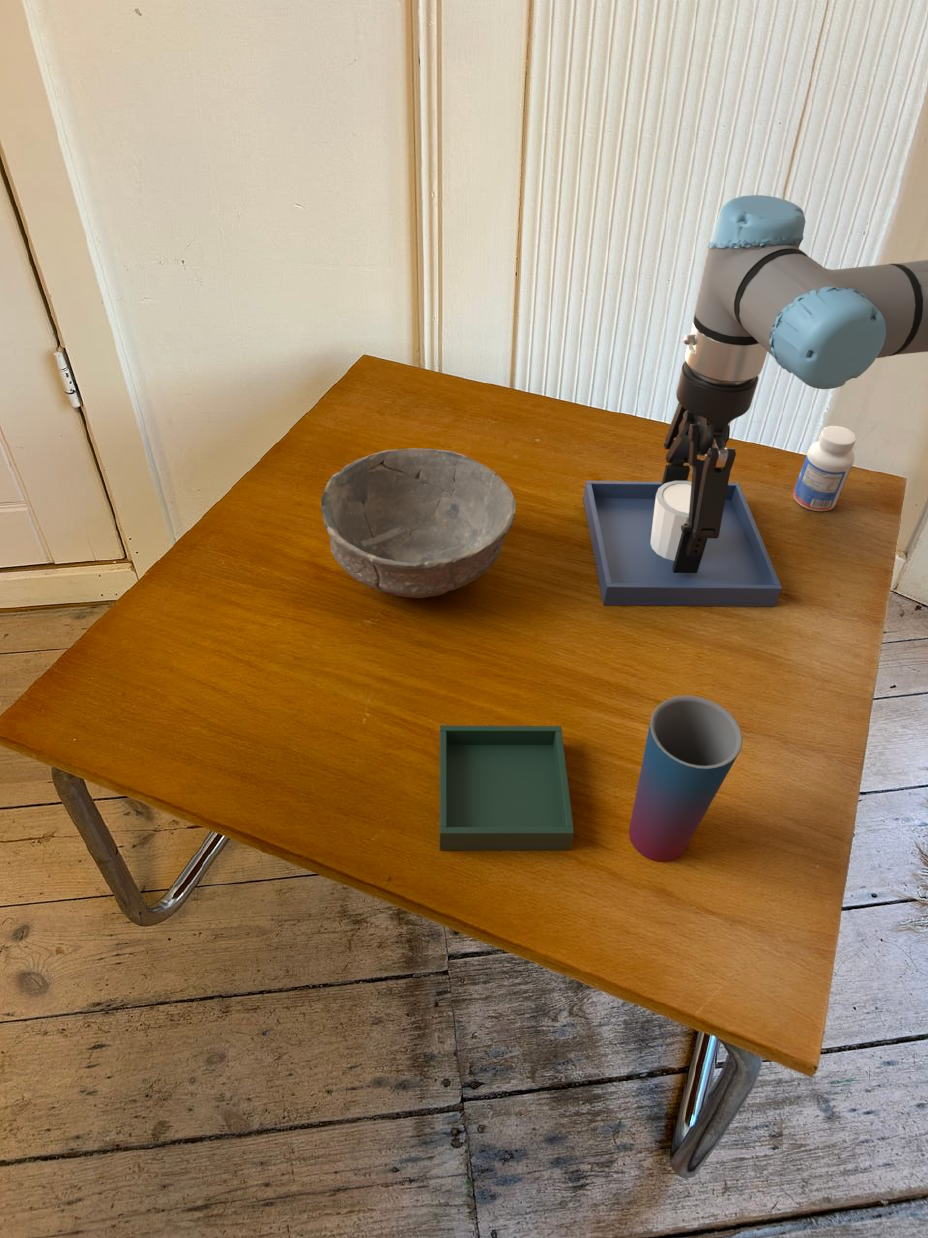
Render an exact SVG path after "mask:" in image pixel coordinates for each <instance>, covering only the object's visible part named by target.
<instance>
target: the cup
mask: <svg viewBox="0 0 928 1238" xmlns="http://www.w3.org/2000/svg"><path fill="white" fill-rule="evenodd" d="M742 747H743V734H742V729H741V727H740V725H739V723H738V721H737V720H736V718H735V717H734V716H733V714H731V713H730V712H729V711H728V710H727V709H726V708H724V707H723V706H722V705H721V704H718V703H717V702H715V701H713V700H710V699H707V698H704V697H702V696H701V697H700V696H696V695H678V696H677V695H676V696H674V697H671V698H670V697H669V698H668V699H666V700H664V701H662V702H661V703H660V704H659V705H657V706H656V708H655V709H654V710H653V712H652V714H651V716H650V721H649V726H648V732H647V736H646V741H645V746H644V751H643V756H642V761H641V767H640V770H639V771H640V772H639V777H638V782H637V785H636V786H637V787H636V792H635V797H634V802H633V807H632V812H631V817H630V821H629V822H630V823H629V829H628V836H629V839H630V843H631V844H632V846H633V847H634V849H635V850H636V851H637V852H638V853H639V854H640V855H641V856H643V857H645V858H647V859H649V860H651V861H654V862H660V863H666V862H671V861H674V860H677V859H678V858H680V857H681V856H682V855H683V854H684V852H685V850H686V849H687V847H688V845H689V844H690V842H691V840H692V838H693V837H694V835H695V833H696V831H697V829H698V828H699V826H700V824H701V822H702V820H703V819H704V817H705V815H706V813H707V811H708V810H709V808H710V806H711V805H712V803H713V801H714V799H715V797H716V795H717V793H718V791H719V790H720V788H721V786H722V785H723V783H724V781H725V779H726V777H727V775H728V774H729V772H730V770H731V768H732V766H733V765H734V763H735V761H736V759H737V758H738V756H739V754H740V753H741V750H742Z"/></svg>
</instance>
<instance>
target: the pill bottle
mask: <svg viewBox="0 0 928 1238" xmlns="http://www.w3.org/2000/svg"><path fill="white" fill-rule="evenodd" d="M856 436H857V435H856V434H855V432H853V431H852V430H850V429H848V428H847V427H844V426H840V425H828V426H825V427H823V429H822V430H821V432H820V434H819V437H818V440H817V441H815V442H813V443H812V444H811V445H810V447H809V448H808V450H807V453H806V456H805V458H804V461H803V465H802V467H801V470H800V473H799V475H798V478H797V481H796V483H795V487H794V489H793V498H794V500H795V501H796V503H797V504H798V505H799V506H801V507H803V508H804V509H806V510H810V511H813V512H814V511H815V512H827V511H830V510H832V509H834V508H835V507H836V505H837V503H838V501H839V499H840V497H841V494H842V492H843V490H844V487H845V484H846V481H847V480H848V477H849V474H850V472H851V469H852V468H853V465H854V462H855V453H854V450H853V448H854V446H855V444H856V440H857V437H856Z"/></svg>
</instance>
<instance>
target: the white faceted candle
mask: <svg viewBox="0 0 928 1238" xmlns="http://www.w3.org/2000/svg"><path fill="white" fill-rule="evenodd" d="M691 483H692V481H689V480H687V481H672V482H668V483H665V484H663V485H662V486H661V487H659V488H658V491H657V493H656V499H655V507H654V516H653V524H652V532H651V541H650V543H651V546H652V549H653V550H654V551H655V552H656V553H657V554H658V555H660V556H662V557H663V558H665V559H669V560H673V561H674V560H675V556H676V553H677V549H678V545H679V541H680V538H681V534H682V531H681V526H684V524H688V519H689V507H690V495H691Z"/></svg>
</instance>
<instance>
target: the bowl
mask: <svg viewBox="0 0 928 1238" xmlns="http://www.w3.org/2000/svg"><path fill="white" fill-rule="evenodd" d="M516 508H517V503H516V499H515V496H514V494H513V491H512V489H511V487H510V486H509V485H508V483H507V482H505V480H504V479H502V478H501V476H500V475H499V474H497V472H496V471H494V470H493V469H491V468H489V467H488V466H486V465H485V464H483V463H481V462H479V461H477V460H476V459H473V458H470V457H469V456H466V455H464V454H462V453H460V452H457V451H454V450H453V451H451V450H446V449H434V448H419V447H417V448H416V447H413V448H399V449H384V450H381V451H378V452H375V453H371V454H369V455H367V456H364V457H360V458H357V459H356V460H354V461H352V462H350V463H348V464H346V465H345V466H343V468H342V469H341V470H340V471H338V472H336V473H334V474H333V475H332V476H331V477H330V478H329V480H328V482H327V483H326V484H325V488H324V491H323V493H322V495H321V498H320V512H321V516H322V518H323V519H322V520H323V525H324V527H325V529H326V532H327V533H328V537H329V547H330V551H331V553H332V555H333V558H334V559H335V561H336V562H337V564H338V565H339V566H340V567H341V568H342V569H343V570H344V571H345V572H346V573H347V574H348V575H349V576H350V577H352V579H354V580H355V581H357V582H358V583H360V584H362V585H364V586H366V587H368V588H370V589H372V590H376V591H378V592H380V593H383V594H388V595H392V596H397V597H400V598H401V597H402V598H413V599H424V598H429V597H437V596H440V595H444V594H447V592H449V591H451V592H453V591H455V590H457V589H460V588H463V587H464V586H466V585H469V584H470V583H472V582H474V581H476V580H477V579H479V578H480V577H481V576H483V575H485V573H486V572H488V570H490V569H491V567H493V565H494V564H495V563H496V562H497V560H498V559H499V557H500V554H501V552H502V549H503V547H504V540H505V537H506V536H507V535H508V533H509V531H510V530H511V528H512V526H513V523H514V520H515V517H516Z"/></svg>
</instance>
